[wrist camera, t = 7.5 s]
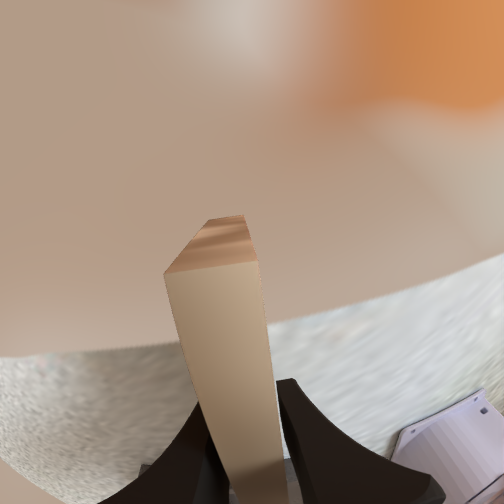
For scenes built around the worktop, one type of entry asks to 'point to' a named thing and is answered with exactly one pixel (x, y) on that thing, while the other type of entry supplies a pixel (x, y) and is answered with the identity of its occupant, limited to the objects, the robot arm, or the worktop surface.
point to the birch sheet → (230, 355)
